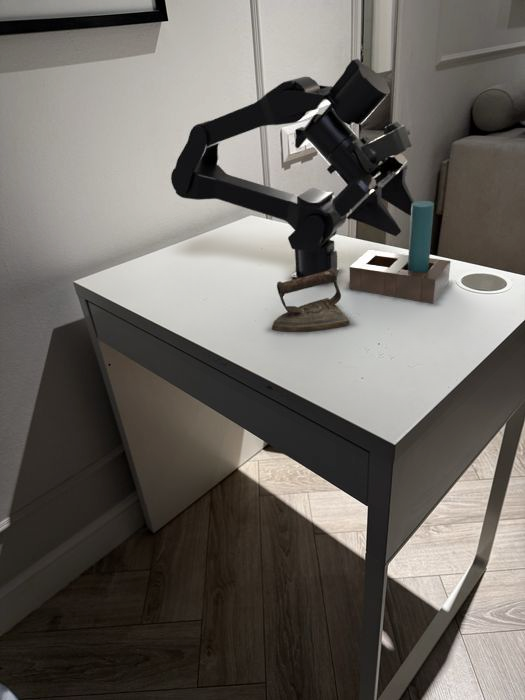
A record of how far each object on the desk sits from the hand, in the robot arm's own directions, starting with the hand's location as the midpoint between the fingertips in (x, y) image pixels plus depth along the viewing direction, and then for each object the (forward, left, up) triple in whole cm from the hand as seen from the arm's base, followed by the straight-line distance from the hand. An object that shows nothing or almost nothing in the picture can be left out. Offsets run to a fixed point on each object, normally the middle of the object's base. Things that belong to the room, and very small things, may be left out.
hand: (407, 224), depth 80 cm
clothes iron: (-9, -17, -11) cm, 22 cm away
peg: (+2, 0, -11) cm, 11 cm away
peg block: (-1, 0, -11) cm, 11 cm away
